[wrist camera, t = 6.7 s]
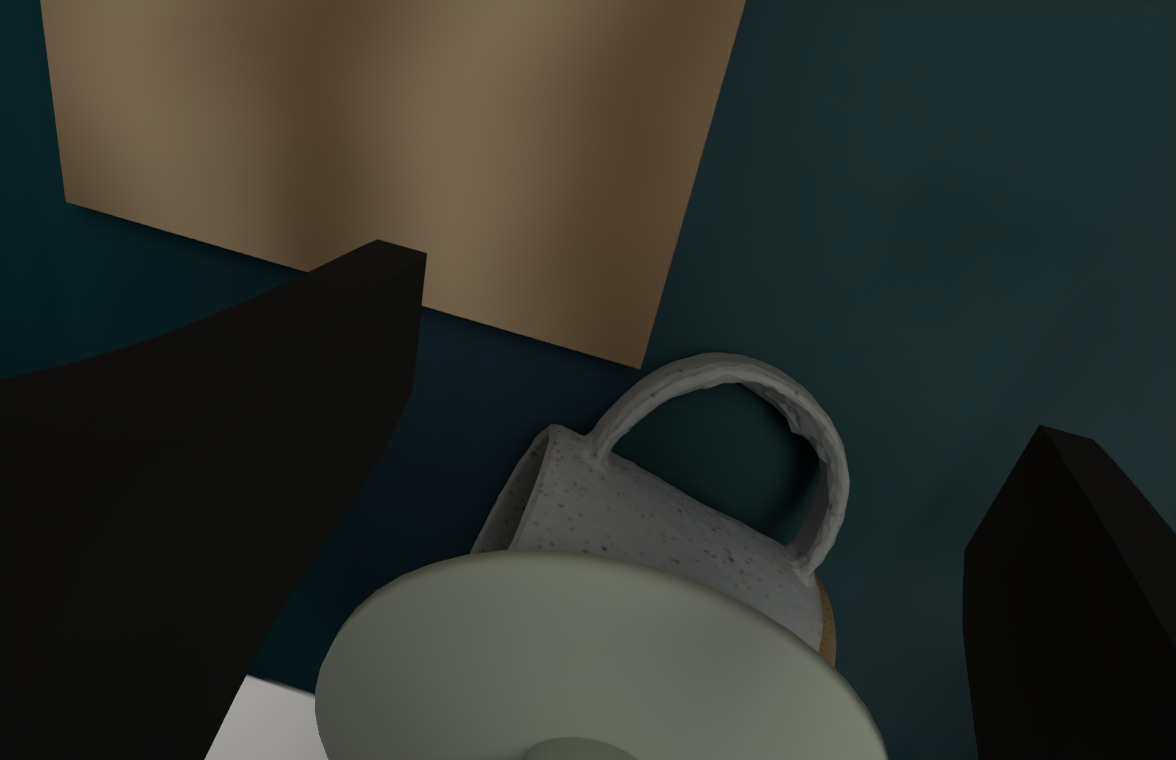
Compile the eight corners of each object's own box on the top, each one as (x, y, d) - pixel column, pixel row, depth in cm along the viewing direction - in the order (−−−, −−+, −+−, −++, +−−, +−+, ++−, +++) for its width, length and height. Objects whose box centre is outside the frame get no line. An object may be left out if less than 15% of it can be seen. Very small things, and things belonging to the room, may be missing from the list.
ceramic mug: (718, 672, 30) (685, 932, 24) (466, 551, 29) (363, 785, 23) (936, 426, 24) (970, 688, 18) (624, 266, 23) (543, 479, 17)
